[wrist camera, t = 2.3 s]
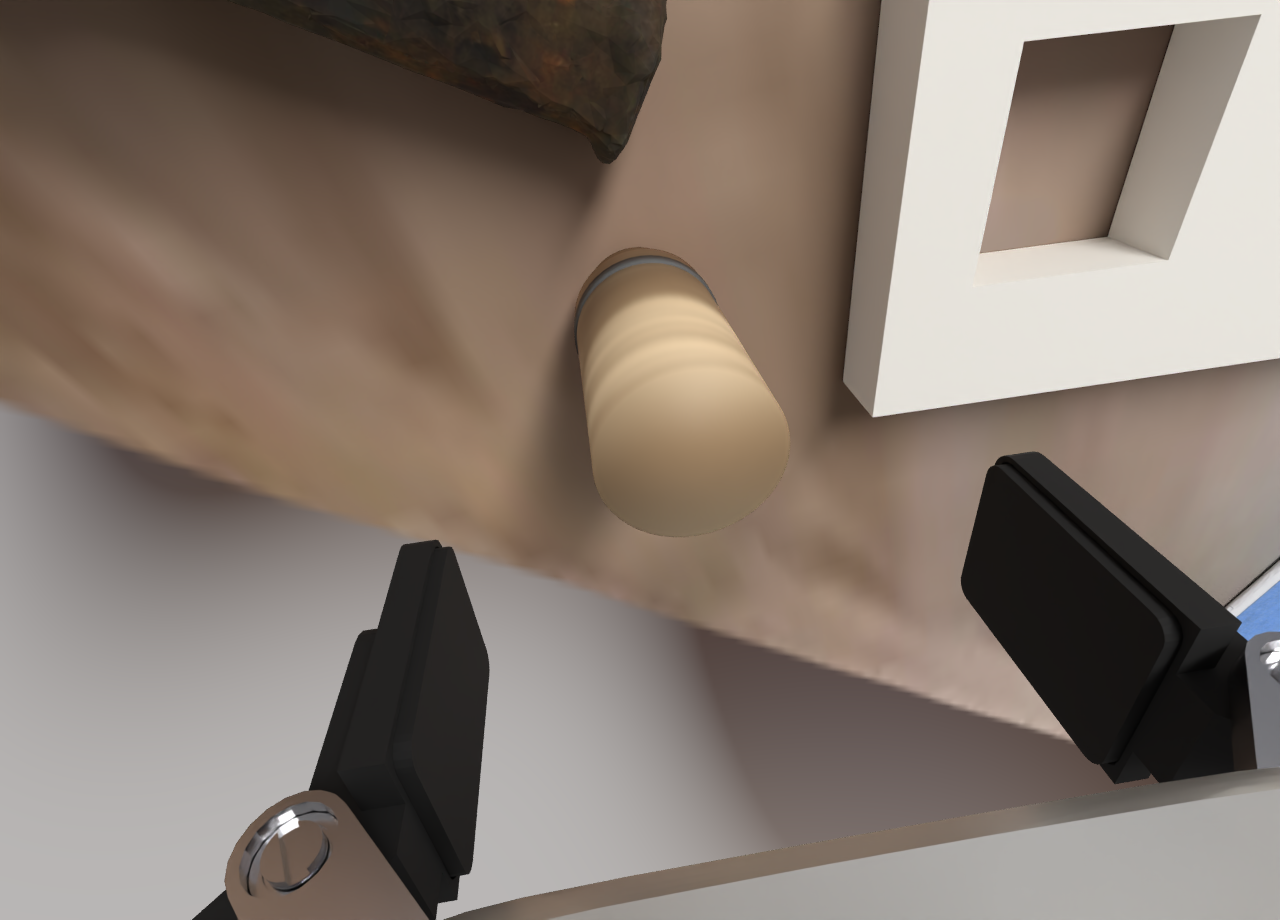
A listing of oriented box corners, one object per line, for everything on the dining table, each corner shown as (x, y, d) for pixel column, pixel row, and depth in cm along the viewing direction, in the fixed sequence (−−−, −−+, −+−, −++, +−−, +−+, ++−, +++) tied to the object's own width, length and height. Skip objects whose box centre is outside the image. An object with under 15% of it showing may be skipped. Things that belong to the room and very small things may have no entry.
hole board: (897, -156, 15) (953, -183, 13) (1751, -238, 16) (1925, -275, 14) (842, 381, 23) (872, 417, 21) (1417, 299, 24) (1498, 326, 22)
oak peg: (561, 241, 19) (576, 384, 12) (698, 223, 19) (797, 353, 12) (580, 366, 21) (602, 551, 14) (703, 349, 22) (788, 522, 14)
